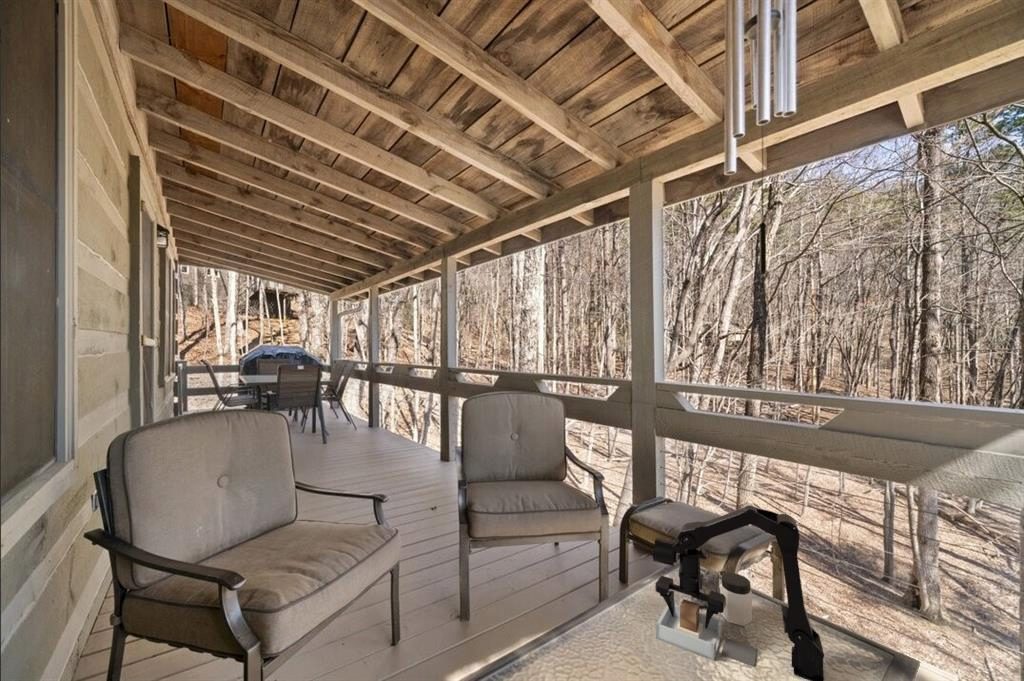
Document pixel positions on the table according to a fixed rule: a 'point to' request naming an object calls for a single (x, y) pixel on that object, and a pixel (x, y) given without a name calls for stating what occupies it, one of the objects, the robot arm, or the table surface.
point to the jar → (737, 598)
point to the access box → (690, 633)
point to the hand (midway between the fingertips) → (689, 622)
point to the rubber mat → (739, 651)
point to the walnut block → (689, 615)
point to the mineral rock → (708, 586)
